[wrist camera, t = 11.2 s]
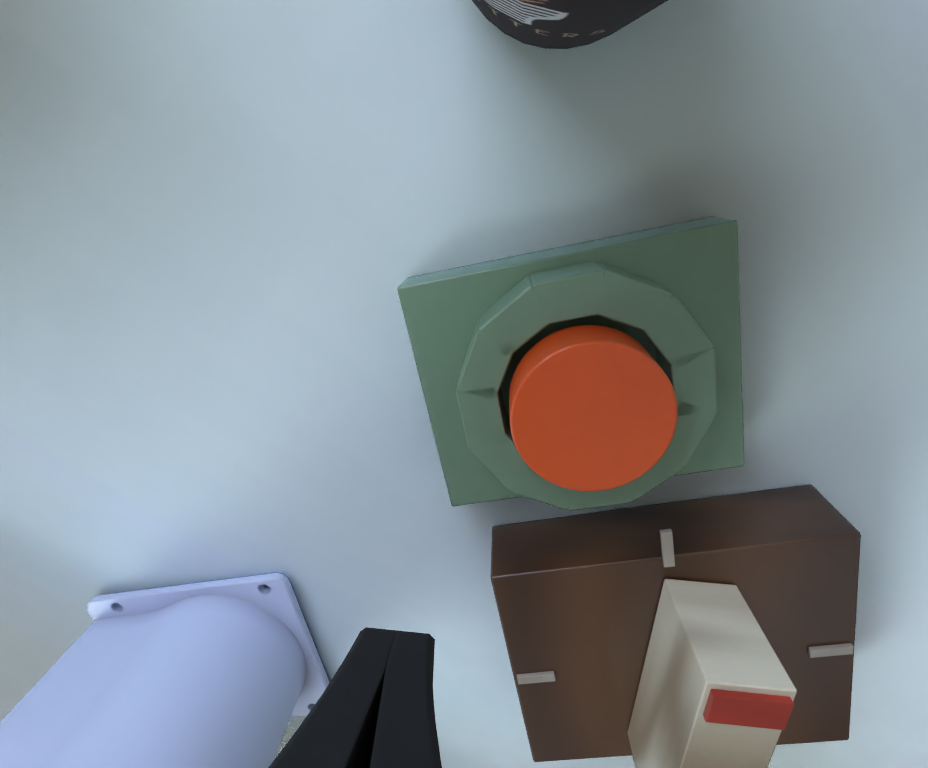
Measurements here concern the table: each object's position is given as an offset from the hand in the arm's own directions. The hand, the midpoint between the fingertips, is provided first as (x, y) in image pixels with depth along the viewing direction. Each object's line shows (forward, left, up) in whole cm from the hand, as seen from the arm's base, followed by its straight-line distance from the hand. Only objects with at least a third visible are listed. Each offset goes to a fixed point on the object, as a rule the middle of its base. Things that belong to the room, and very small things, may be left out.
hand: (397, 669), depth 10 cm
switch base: (+7, -9, -10) cm, 15 cm away
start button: (+5, +2, -7) cm, 9 cm away
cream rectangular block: (+7, -9, -7) cm, 14 cm away
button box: (+5, +2, -10) cm, 12 cm away
